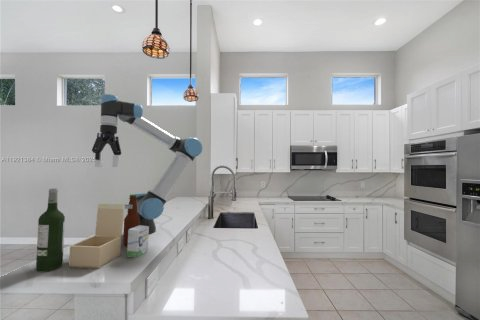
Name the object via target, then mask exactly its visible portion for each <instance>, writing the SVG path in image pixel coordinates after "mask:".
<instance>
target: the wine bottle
mask: <svg viewBox="0 0 480 320" xmlns="http://www.w3.org/2000/svg"><path fill="white" fill-rule="evenodd" d="M58 192H59V190H58V188H49V189H48V200H47V208H46V210H45V211H44V212H43V213H41V215H40V216H39V217H38V220H37V223H38V224H37V225H38V226H37V241H36V258H35V259H36V260H35V270H37V271H36V272H39V271H46V272H51V271H55V270H56V269H60V268H61V267H62V266H63V263H64V245H65V244H64V242H65V220H66V219H65V214H64V213H63V212H61V211H60V210H59V209H58Z"/></svg>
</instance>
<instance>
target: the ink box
mask: <svg viewBox="0 0 480 320" xmlns="http://www.w3.org/2000/svg"><path fill="white" fill-rule="evenodd" d="M149 235H150V234H149V226H143V225H139V226H136V227H134V228H131V229H129V230H128V247H126V249H127V250H126V257H127V258H136V259H137V258H138V257H140V256H141V255H143V254H145V253H146V252H148V251H149Z"/></svg>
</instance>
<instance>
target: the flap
mask: <svg viewBox="0 0 480 320" xmlns="http://www.w3.org/2000/svg"><path fill="white" fill-rule="evenodd" d="M132 207H133V205H129V204H123V203H122V204H120V203H119V204H117V203H98V204H97V213H96V222H95V223H96V225H95V231H94V232H95V233H94V236H118V237H121V238H122V237H123V230H124V218H125V216H124V215H125V210H128V209H132Z"/></svg>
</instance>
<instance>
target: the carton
mask: <svg viewBox="0 0 480 320" xmlns="http://www.w3.org/2000/svg"><path fill="white" fill-rule="evenodd" d="M121 240H122V236H121V237H120V236H95V235H93V236H90V237H88V238H87V239H84V240H81V241H79V242H77V243H75V244H72V245H69V264H68V268H80V269H101V268H102V267H104V266H105V265H107V264H109V263H110V262H112V261H114V260H115V259H116V258H118V257H120V256H121V247H122V246H121V245H122V241H121Z"/></svg>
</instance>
